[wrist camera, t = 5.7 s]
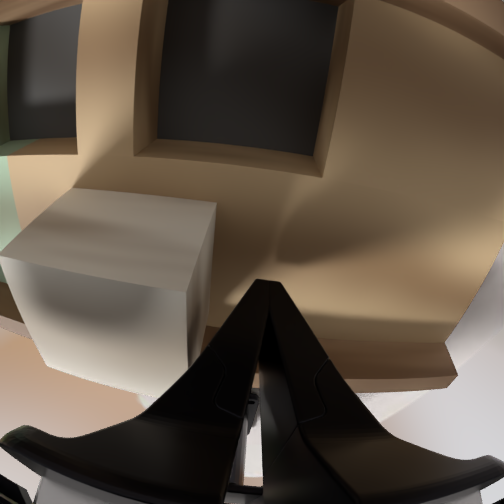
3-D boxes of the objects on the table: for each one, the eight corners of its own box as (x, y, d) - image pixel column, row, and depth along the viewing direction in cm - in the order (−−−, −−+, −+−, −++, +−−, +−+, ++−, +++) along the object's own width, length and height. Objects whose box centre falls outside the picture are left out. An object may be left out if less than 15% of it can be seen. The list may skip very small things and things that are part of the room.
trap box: (420, 321, 15) (446, 388, 11) (-3, 260, 14) (-44, 308, 11) (514, 62, 7) (591, 82, 3) (-32, 28, 7) (-98, 42, 3)
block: (208, 312, 12) (189, 404, 8) (90, 290, 12) (46, 366, 8) (216, 202, 9) (186, 292, 6) (71, 187, 9) (-3, 255, 6)
